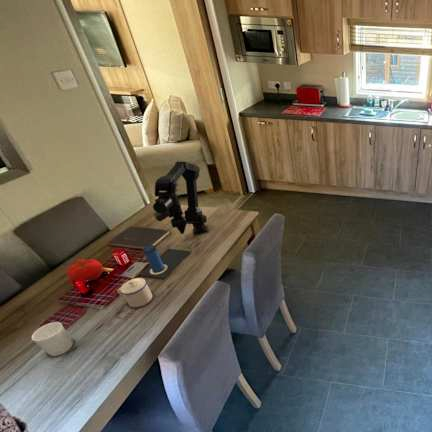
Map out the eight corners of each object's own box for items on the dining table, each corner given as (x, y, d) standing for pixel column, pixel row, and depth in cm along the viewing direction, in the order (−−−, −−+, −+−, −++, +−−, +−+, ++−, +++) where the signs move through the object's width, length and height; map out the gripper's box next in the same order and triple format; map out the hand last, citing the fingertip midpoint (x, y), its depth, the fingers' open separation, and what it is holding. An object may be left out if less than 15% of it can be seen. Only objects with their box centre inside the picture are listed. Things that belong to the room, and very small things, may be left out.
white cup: (58, 339, 119) (43, 322, 113) (80, 338, 120) (67, 321, 114) (41, 358, 112) (25, 341, 107) (64, 357, 113) (50, 340, 108)
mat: (168, 249, 164) (168, 248, 164) (190, 252, 164) (189, 251, 163) (139, 276, 148) (139, 274, 147) (163, 279, 147) (163, 277, 147)
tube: (152, 268, 152) (142, 247, 144) (164, 264, 154) (155, 243, 147) (153, 274, 148) (142, 253, 141) (165, 270, 151) (156, 249, 144)
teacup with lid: (157, 292, 140) (148, 273, 134) (145, 308, 133) (134, 289, 126) (130, 292, 140) (119, 273, 133) (116, 308, 132) (104, 288, 126)
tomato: (108, 277, 146) (100, 263, 141) (75, 290, 139) (65, 275, 134) (103, 266, 152) (95, 252, 147) (71, 278, 144) (61, 263, 139)
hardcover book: (150, 250, 163) (148, 247, 162) (109, 245, 165) (107, 242, 163) (170, 232, 176) (169, 229, 175) (132, 228, 178) (131, 225, 177)
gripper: (150, 199, 153) (160, 225, 161) (154, 215, 140) (165, 243, 148) (176, 193, 159) (184, 219, 167) (182, 209, 146) (191, 236, 154)
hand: (181, 229), depth 159 cm, fingers open, 9 cm apart
